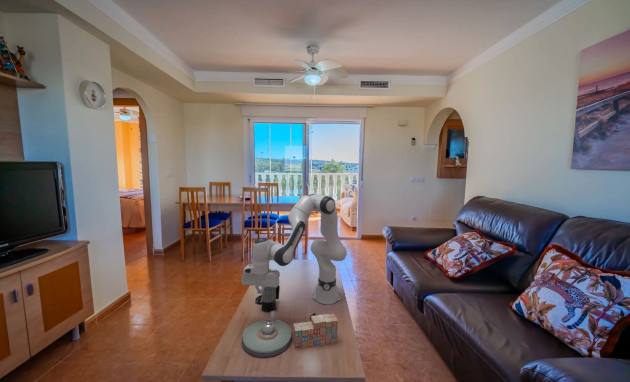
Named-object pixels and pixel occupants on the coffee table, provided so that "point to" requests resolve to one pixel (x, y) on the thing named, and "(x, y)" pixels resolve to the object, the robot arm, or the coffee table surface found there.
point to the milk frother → (268, 298)
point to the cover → (268, 330)
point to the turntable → (266, 345)
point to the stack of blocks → (316, 331)
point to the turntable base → (266, 355)
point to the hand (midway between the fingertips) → (260, 293)
